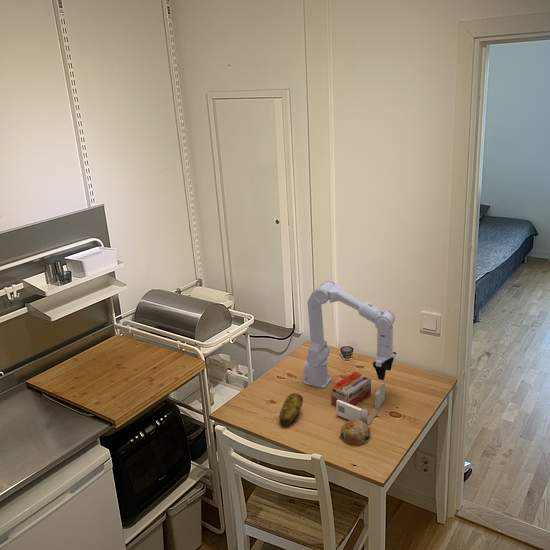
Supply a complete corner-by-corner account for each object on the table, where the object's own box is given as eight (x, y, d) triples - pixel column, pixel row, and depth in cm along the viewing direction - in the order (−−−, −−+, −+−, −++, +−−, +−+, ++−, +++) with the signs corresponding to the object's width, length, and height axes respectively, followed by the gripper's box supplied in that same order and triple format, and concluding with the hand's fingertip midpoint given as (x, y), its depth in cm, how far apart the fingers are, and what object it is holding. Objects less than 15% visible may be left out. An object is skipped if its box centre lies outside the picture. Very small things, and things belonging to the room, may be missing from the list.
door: (360, 424, 209) (360, 410, 207) (336, 414, 216) (336, 400, 213) (362, 423, 210) (362, 409, 208) (338, 413, 216) (338, 399, 214)
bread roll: (357, 456, 199) (367, 441, 195) (333, 438, 202) (341, 423, 198) (369, 440, 207) (378, 426, 203) (345, 423, 210) (353, 408, 206)
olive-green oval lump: (270, 421, 215) (269, 402, 212) (294, 405, 224) (293, 387, 221) (287, 429, 210) (286, 410, 207) (310, 413, 218) (309, 395, 215)
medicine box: (347, 412, 218) (347, 393, 215) (331, 404, 223) (330, 386, 221) (371, 395, 228) (371, 377, 225) (355, 388, 233) (355, 370, 230)
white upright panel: (360, 427, 208) (360, 411, 206) (380, 398, 225) (380, 382, 223) (366, 428, 207) (366, 412, 205) (386, 399, 224) (386, 384, 222)
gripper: (388, 353, 209) (388, 386, 214) (401, 336, 221) (400, 367, 226) (370, 349, 213) (370, 381, 218) (383, 333, 224) (383, 364, 229)
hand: (384, 374), depth 222 cm, fingers open, 7 cm apart
